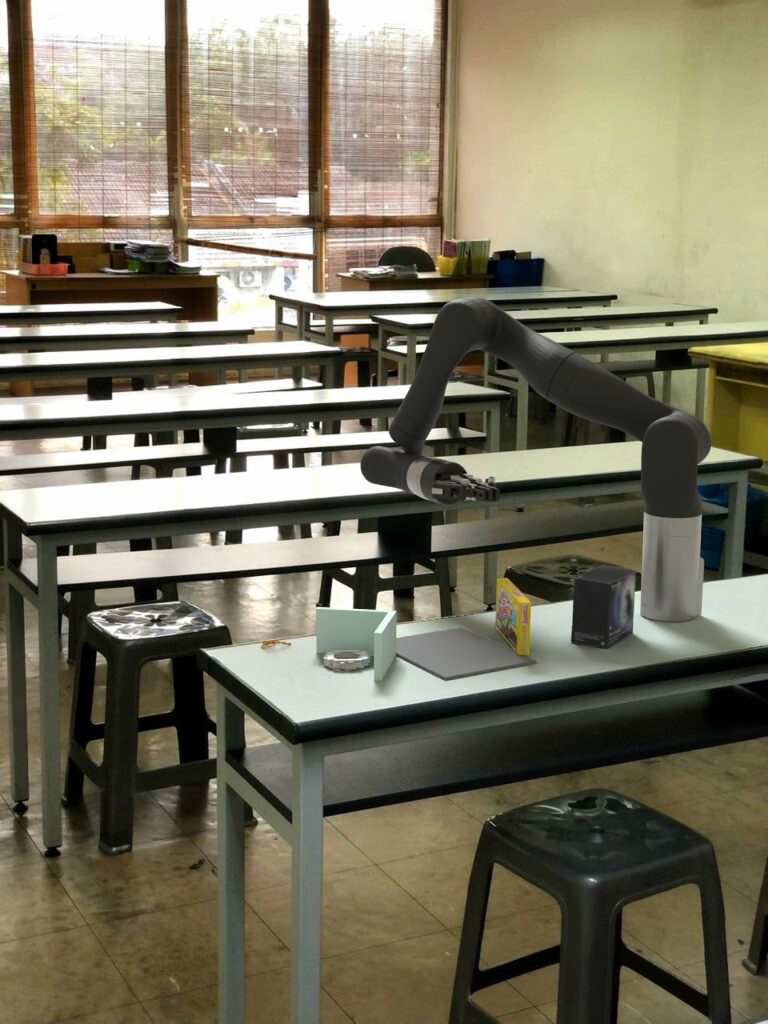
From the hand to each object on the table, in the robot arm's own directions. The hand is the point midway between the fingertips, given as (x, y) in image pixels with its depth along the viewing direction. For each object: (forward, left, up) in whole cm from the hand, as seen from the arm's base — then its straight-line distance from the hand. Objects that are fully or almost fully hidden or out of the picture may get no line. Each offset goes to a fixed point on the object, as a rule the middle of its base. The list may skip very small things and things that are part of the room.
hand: (494, 495), depth 216 cm
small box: (-7, +20, -20) cm, 29 cm away
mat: (+17, +15, -20) cm, 31 cm away
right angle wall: (+34, +12, -21) cm, 42 cm away
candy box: (+7, +15, -20) cm, 26 cm away
